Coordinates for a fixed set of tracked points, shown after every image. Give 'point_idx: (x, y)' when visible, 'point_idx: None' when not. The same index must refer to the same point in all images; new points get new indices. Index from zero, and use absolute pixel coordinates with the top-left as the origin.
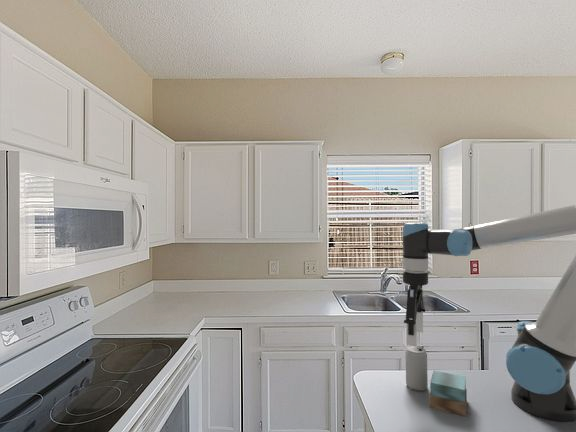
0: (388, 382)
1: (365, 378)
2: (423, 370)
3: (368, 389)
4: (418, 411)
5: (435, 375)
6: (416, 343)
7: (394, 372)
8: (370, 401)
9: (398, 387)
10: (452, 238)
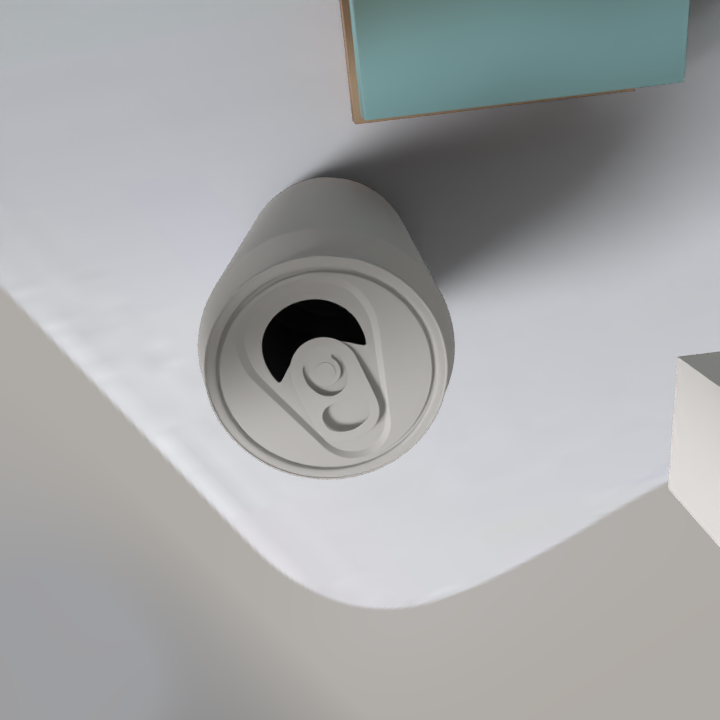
0: None
1: (418, 565)
2: (390, 220)
3: (552, 500)
4: (683, 149)
5: (490, 71)
6: (695, 370)
7: (203, 454)
8: None
9: None
10: None
